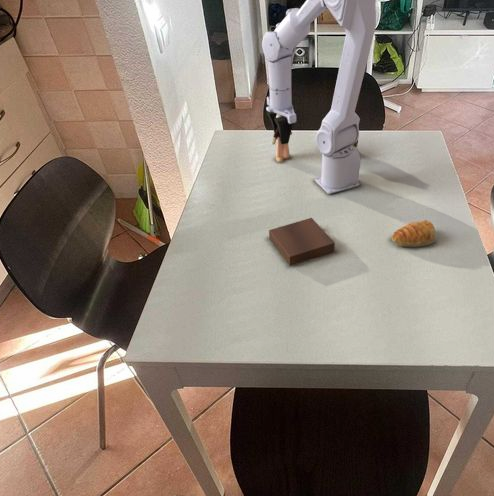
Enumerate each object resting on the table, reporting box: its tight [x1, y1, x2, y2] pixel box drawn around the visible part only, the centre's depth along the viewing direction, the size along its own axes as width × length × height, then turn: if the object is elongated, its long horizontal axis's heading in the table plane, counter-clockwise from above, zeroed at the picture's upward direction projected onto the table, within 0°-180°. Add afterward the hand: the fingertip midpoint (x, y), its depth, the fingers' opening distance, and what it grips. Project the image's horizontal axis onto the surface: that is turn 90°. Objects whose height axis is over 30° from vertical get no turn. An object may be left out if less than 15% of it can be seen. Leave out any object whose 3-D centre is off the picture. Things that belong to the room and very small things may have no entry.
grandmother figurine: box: [271, 114, 293, 163], centre depth 119 cm, size 8×4×13 cm, turn 149°
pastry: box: [391, 219, 437, 248], centre depth 96 cm, size 9×7×4 cm
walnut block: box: [268, 217, 336, 267], centre depth 96 cm, size 11×11×2 cm
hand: (282, 140), depth 120 cm, fingers closed on grandmother figurine, 3 cm apart
